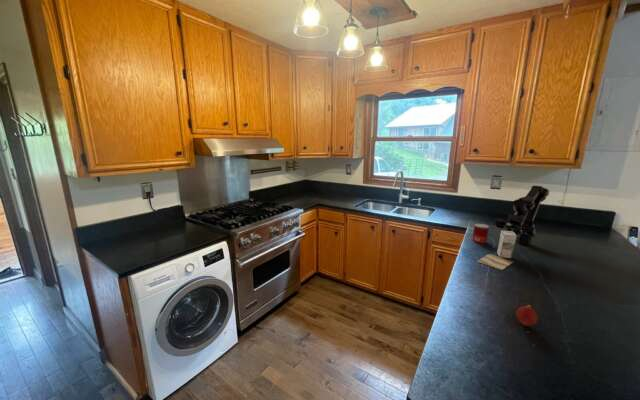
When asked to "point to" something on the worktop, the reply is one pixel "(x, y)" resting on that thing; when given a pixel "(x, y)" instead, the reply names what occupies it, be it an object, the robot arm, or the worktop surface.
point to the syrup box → (506, 244)
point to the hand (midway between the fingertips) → (508, 238)
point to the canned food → (480, 233)
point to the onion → (526, 315)
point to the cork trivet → (495, 261)
